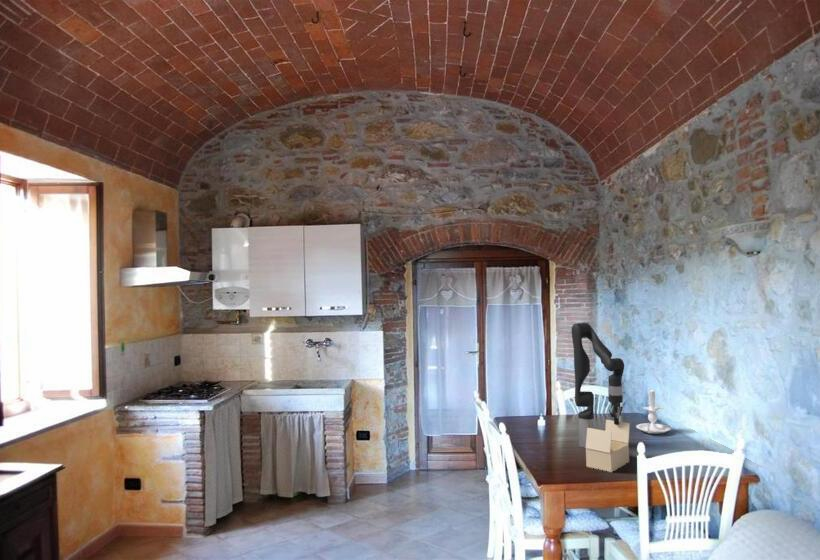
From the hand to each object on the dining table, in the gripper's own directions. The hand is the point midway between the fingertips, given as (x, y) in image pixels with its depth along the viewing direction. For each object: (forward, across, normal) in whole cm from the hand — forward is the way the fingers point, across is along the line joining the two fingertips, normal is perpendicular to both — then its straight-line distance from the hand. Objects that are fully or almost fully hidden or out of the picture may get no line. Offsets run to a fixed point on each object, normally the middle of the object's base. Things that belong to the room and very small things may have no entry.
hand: (616, 424), depth 296 cm
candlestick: (+18, -63, -5) cm, 66 cm away
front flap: (+4, +22, 0) cm, 22 cm away
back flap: (+4, 0, 0) cm, 4 cm away
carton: (+20, +12, 0) cm, 23 cm away
